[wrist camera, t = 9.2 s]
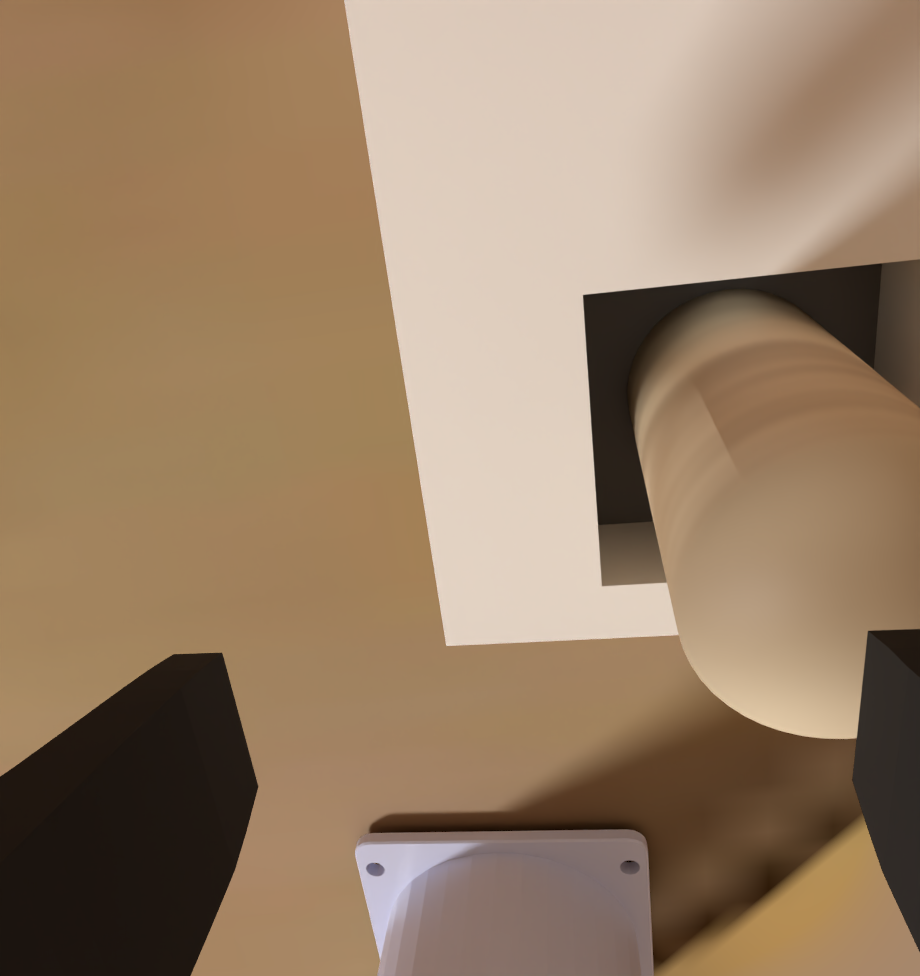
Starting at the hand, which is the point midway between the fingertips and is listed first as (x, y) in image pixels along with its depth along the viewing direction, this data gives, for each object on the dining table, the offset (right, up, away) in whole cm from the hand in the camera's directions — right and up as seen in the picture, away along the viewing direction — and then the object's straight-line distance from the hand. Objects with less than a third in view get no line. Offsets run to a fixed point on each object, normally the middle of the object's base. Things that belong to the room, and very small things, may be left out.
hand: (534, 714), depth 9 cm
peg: (+5, +5, +7) cm, 10 cm away
